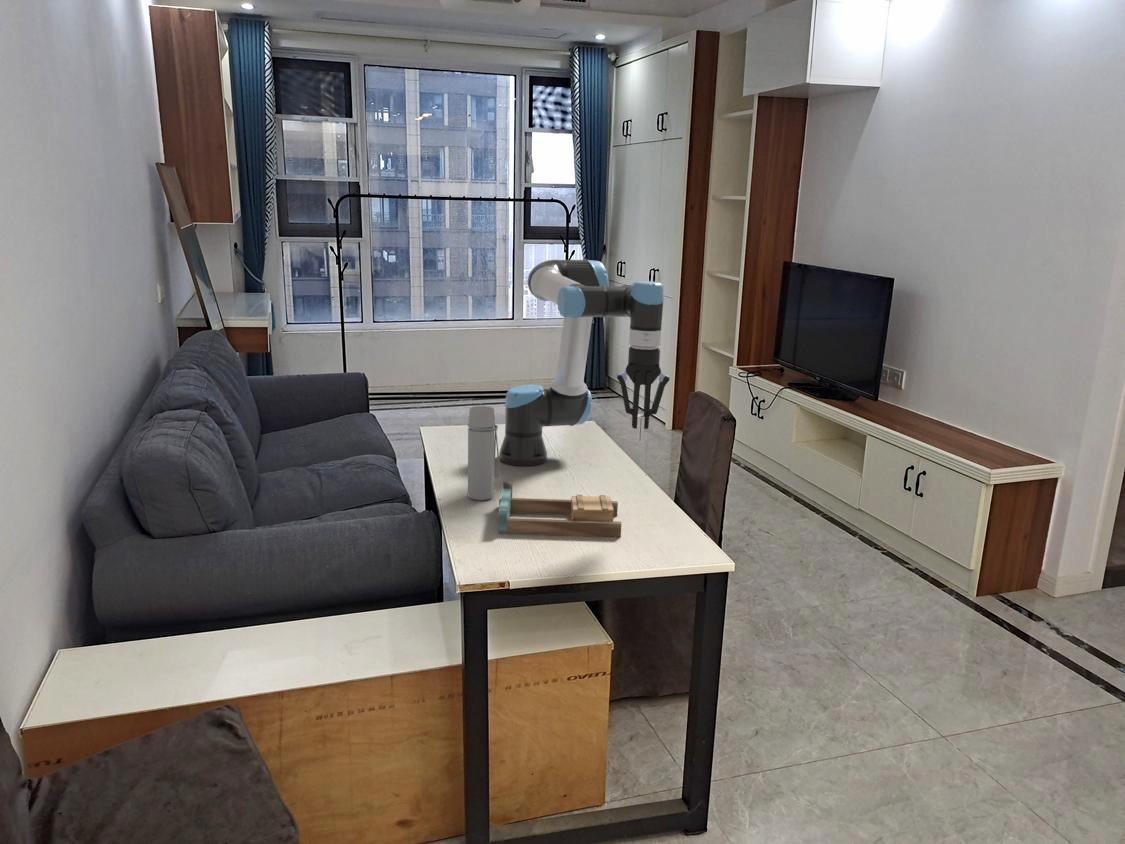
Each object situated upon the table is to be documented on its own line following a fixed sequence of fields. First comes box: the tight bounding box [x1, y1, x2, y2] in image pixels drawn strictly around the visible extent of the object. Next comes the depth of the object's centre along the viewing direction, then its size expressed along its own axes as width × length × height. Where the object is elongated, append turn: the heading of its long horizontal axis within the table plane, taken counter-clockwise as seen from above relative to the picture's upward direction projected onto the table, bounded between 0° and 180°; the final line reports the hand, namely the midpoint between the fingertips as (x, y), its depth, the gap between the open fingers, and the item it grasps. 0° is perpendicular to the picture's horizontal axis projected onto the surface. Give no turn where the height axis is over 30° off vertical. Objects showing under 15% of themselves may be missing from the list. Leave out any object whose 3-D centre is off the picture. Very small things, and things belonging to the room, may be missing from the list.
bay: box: [497, 480, 622, 538], centre depth 213 cm, size 20×31×7 cm, turn 90°
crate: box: [570, 494, 614, 521], centre depth 211 cm, size 10×10×6 cm
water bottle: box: [467, 405, 501, 502], centre depth 226 cm, size 9×8×25 cm
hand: (639, 440), depth 206 cm, fingers closed
